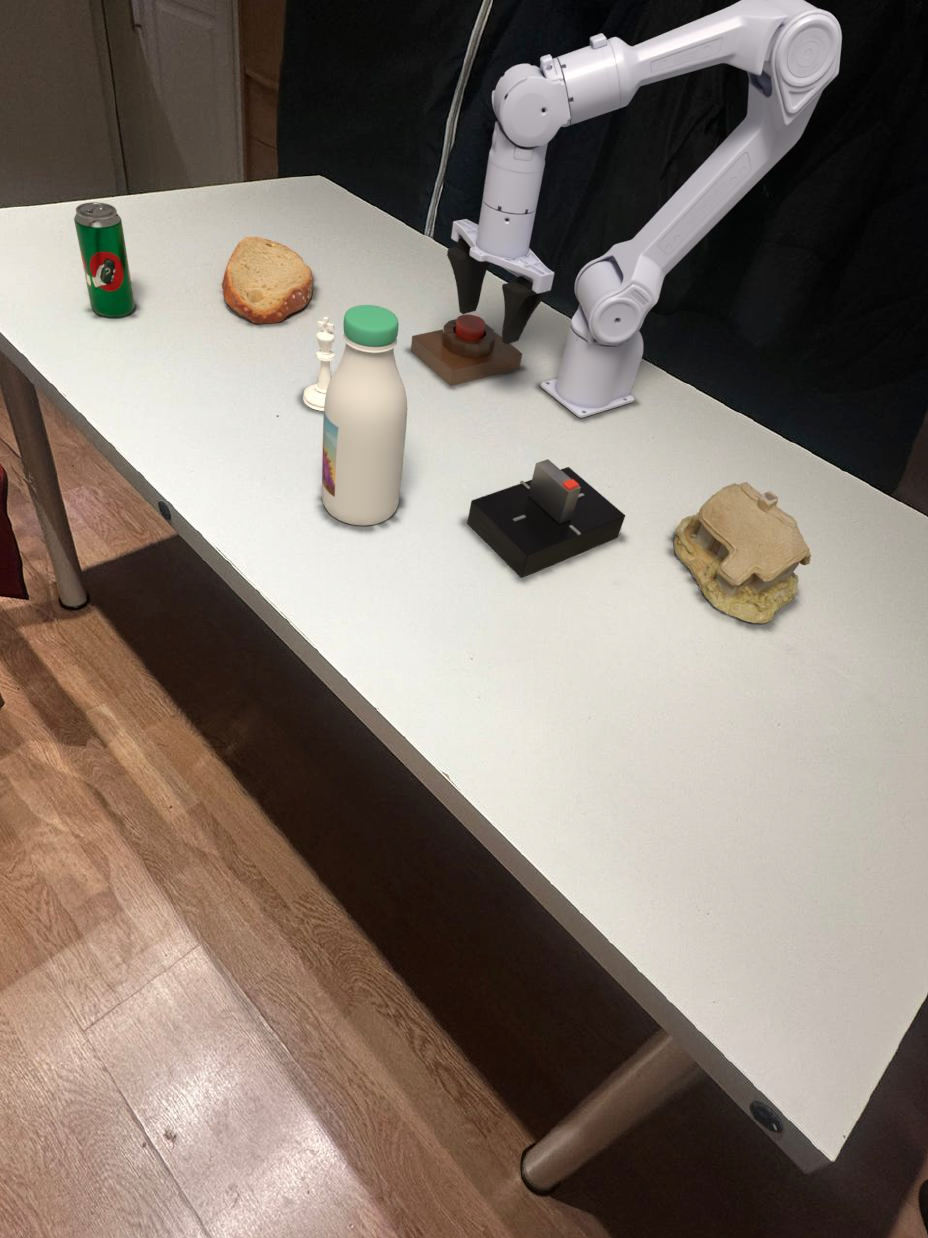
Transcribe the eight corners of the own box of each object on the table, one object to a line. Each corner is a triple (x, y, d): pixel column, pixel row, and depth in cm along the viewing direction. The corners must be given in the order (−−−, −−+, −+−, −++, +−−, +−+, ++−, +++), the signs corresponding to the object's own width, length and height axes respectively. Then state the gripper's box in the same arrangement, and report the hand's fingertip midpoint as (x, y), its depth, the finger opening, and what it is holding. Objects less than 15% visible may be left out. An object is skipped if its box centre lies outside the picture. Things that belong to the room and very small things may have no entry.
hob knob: (527, 495, 83) (536, 460, 80) (539, 491, 84) (548, 456, 81) (559, 524, 80) (569, 489, 77) (571, 519, 81) (581, 485, 78)
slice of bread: (262, 245, 120) (261, 219, 118) (355, 291, 115) (356, 264, 112) (163, 279, 109) (159, 251, 107) (261, 331, 103) (260, 303, 101)
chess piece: (338, 415, 93) (341, 333, 86) (296, 405, 93) (296, 322, 86) (351, 393, 97) (355, 312, 89) (311, 384, 97) (311, 302, 90)
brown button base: (478, 336, 111) (483, 307, 108) (519, 368, 106) (525, 340, 103) (410, 351, 105) (413, 322, 102) (450, 386, 101) (454, 356, 98)
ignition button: (472, 325, 105) (474, 312, 104) (489, 338, 103) (491, 325, 102) (449, 330, 103) (451, 316, 102) (466, 343, 101) (468, 330, 100)
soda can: (144, 310, 103) (129, 211, 95) (111, 323, 100) (93, 222, 91) (115, 296, 105) (98, 197, 96) (82, 308, 101) (62, 207, 93)
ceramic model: (817, 601, 82) (866, 524, 75) (740, 636, 77) (785, 557, 70) (720, 517, 90) (756, 440, 83) (644, 544, 85) (676, 464, 78)
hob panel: (561, 488, 90) (568, 464, 87) (618, 538, 85) (627, 514, 83) (466, 522, 83) (470, 498, 81) (522, 578, 79) (528, 554, 76)
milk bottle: (409, 493, 85) (430, 310, 71) (380, 537, 80) (396, 348, 66) (341, 471, 86) (348, 285, 72) (308, 512, 81) (308, 321, 67)
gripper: (436, 182, 87) (423, 305, 97) (528, 237, 80) (504, 363, 90) (486, 174, 91) (468, 293, 100) (578, 226, 84) (550, 348, 94)
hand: (488, 325), depth 95 cm, fingers open, 7 cm apart
